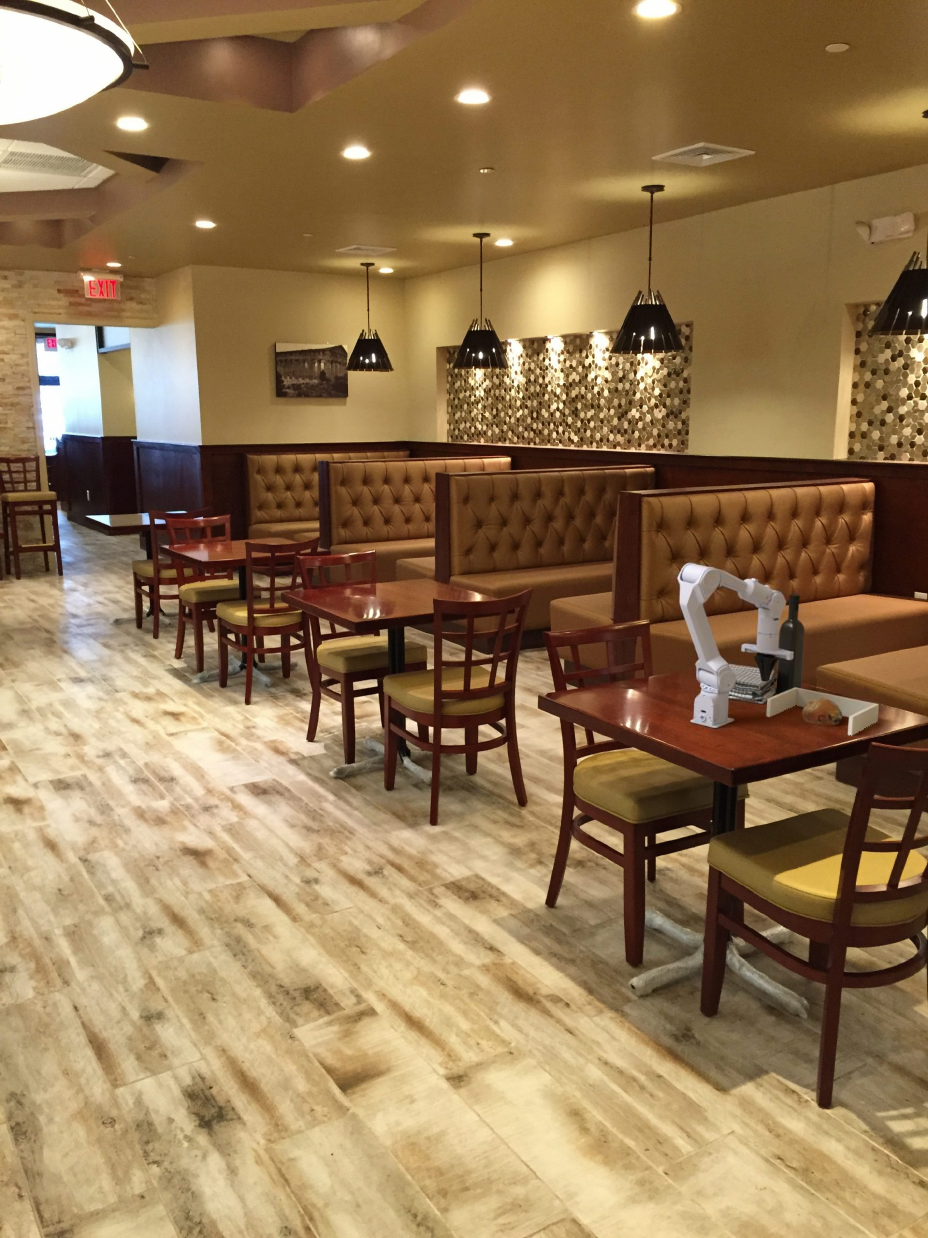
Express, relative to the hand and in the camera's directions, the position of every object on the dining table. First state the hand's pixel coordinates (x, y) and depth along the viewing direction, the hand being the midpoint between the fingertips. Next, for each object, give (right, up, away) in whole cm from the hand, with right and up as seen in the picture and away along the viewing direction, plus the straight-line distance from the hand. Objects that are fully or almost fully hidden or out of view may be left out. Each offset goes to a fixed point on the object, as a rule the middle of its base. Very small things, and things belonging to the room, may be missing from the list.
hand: (765, 680), depth 274 cm
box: (+14, -10, -4) cm, 18 cm away
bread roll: (+14, -11, -5) cm, 19 cm away
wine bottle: (+13, -6, +20) cm, 24 cm away
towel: (-1, -6, +20) cm, 21 cm away
